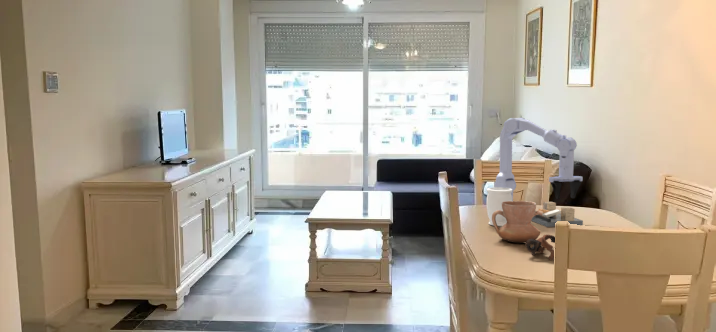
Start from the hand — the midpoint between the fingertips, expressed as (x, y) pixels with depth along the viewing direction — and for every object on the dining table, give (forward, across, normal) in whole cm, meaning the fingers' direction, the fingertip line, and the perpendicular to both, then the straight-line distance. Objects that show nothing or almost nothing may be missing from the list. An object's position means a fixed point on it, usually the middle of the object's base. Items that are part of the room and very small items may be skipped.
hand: (565, 198), depth 246 cm
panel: (+10, -5, 0) cm, 11 cm away
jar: (+10, -30, 0) cm, 32 cm away
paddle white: (+8, -6, 0) cm, 10 cm away
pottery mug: (+10, -38, -50) cm, 64 cm away
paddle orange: (+8, -6, +3) cm, 11 cm away
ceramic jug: (+10, -36, -28) cm, 47 cm away
